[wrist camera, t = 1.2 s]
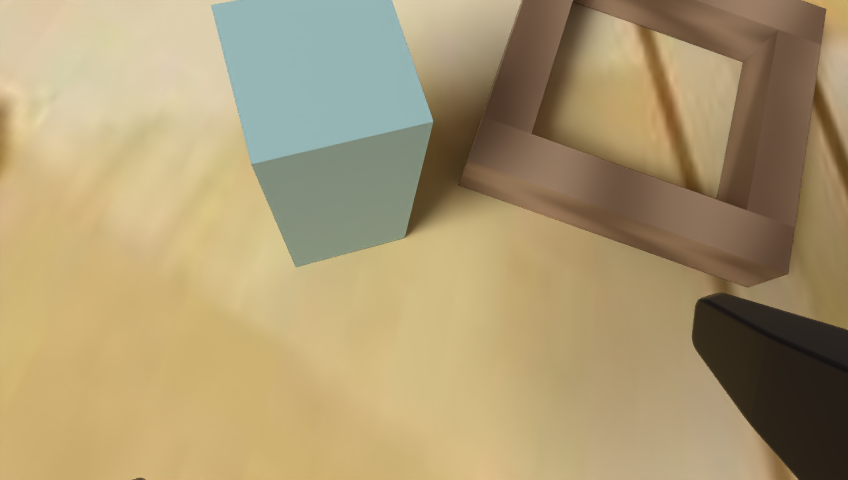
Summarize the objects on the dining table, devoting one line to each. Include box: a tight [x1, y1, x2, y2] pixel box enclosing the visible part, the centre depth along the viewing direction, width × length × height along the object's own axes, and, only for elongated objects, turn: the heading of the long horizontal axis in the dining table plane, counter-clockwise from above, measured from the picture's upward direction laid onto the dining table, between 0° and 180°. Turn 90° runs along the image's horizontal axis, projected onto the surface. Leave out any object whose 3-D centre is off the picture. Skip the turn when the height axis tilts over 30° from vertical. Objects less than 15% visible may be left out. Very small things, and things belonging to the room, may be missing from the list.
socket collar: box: [458, 0, 826, 287], centre depth 26 cm, size 13×13×2 cm
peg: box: [211, 0, 433, 267], centre depth 20 cm, size 4×4×10 cm
